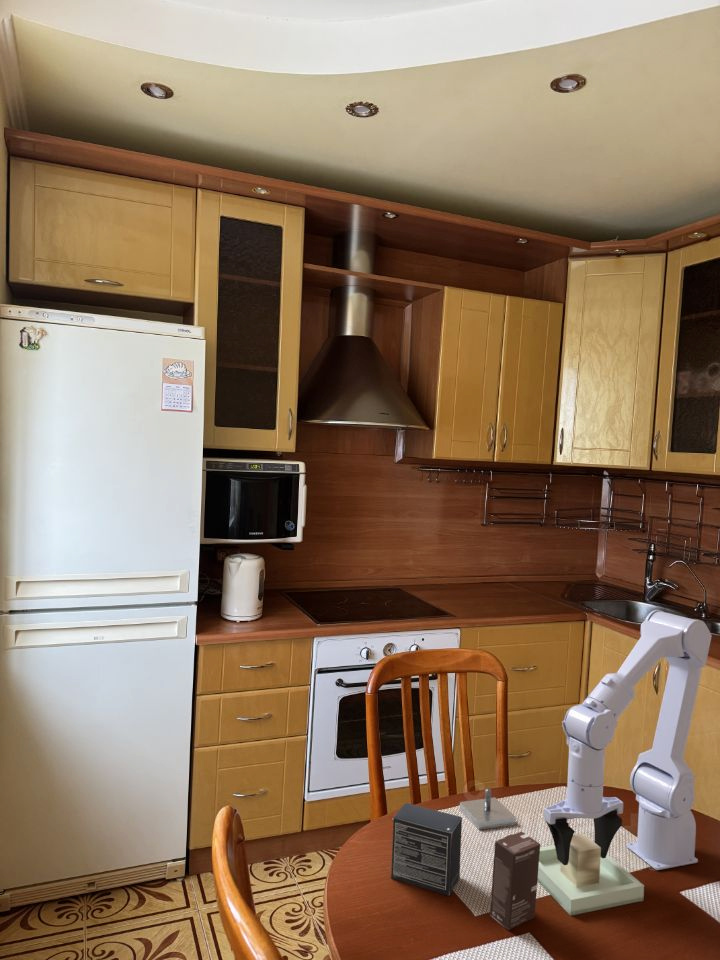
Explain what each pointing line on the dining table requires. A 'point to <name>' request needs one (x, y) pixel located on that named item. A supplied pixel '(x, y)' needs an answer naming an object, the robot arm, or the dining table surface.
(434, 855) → the small box
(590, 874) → the birch block
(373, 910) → the dining table surface
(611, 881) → the tray
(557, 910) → the dining table surface
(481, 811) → the silver peg base
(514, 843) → the box
